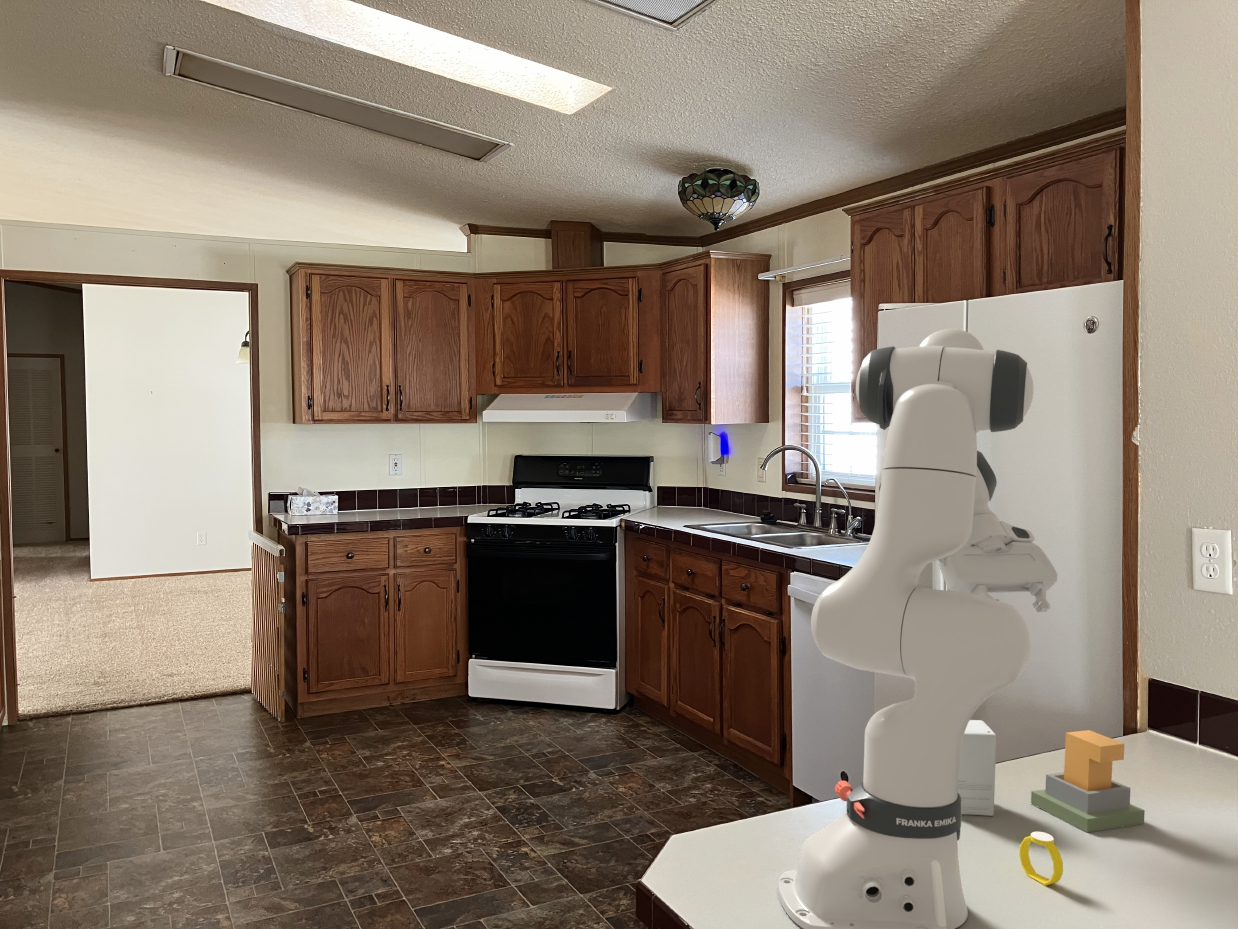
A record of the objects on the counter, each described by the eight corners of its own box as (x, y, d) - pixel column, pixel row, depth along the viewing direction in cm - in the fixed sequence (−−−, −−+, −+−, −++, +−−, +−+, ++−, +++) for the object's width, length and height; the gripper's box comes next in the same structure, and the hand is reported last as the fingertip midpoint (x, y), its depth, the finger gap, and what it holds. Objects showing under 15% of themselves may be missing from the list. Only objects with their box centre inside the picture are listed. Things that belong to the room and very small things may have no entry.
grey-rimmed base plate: (1086, 832, 140) (1088, 798, 140) (1030, 803, 150) (1032, 772, 150) (1143, 823, 144) (1145, 790, 144) (1085, 796, 154) (1086, 765, 154)
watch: (1065, 890, 123) (1070, 846, 122) (1049, 894, 122) (1053, 849, 121) (1029, 866, 129) (1033, 824, 128) (1013, 870, 127) (1017, 827, 127)
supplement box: (981, 798, 152) (984, 719, 152) (994, 817, 145) (997, 734, 144) (933, 795, 153) (936, 717, 153) (944, 814, 146) (947, 732, 145)
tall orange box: (1063, 796, 148) (1065, 732, 148) (1086, 793, 150) (1089, 730, 150) (1097, 813, 142) (1100, 746, 142) (1121, 809, 144) (1124, 743, 143)
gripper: (939, 531, 157) (978, 601, 148) (1038, 531, 164) (1081, 597, 155) (921, 555, 161) (957, 624, 152) (1018, 553, 168) (1059, 620, 159)
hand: (1021, 611), depth 154 cm, fingers open, 8 cm apart
